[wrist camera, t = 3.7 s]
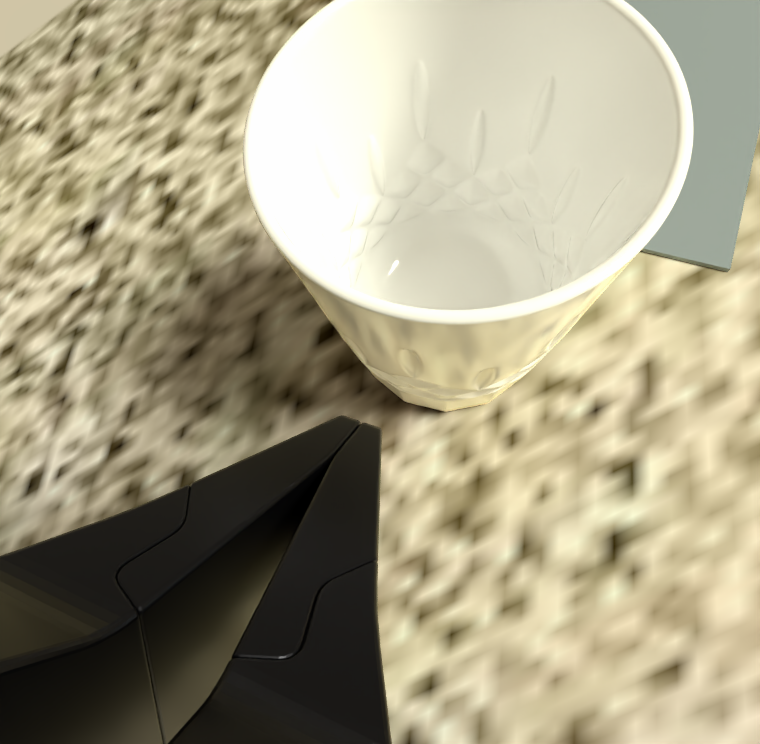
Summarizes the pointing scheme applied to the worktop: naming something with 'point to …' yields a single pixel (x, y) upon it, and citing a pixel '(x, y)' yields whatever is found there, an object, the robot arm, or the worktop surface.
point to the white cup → (465, 176)
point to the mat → (711, 122)
